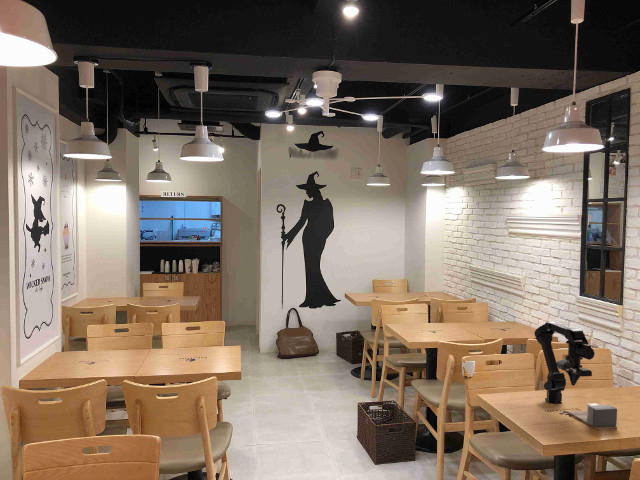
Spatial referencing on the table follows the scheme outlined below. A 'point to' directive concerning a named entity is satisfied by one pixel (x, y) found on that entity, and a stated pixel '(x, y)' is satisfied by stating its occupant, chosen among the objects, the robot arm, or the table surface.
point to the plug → (590, 405)
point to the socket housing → (602, 415)
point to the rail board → (583, 418)
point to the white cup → (468, 367)
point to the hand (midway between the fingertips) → (573, 385)
